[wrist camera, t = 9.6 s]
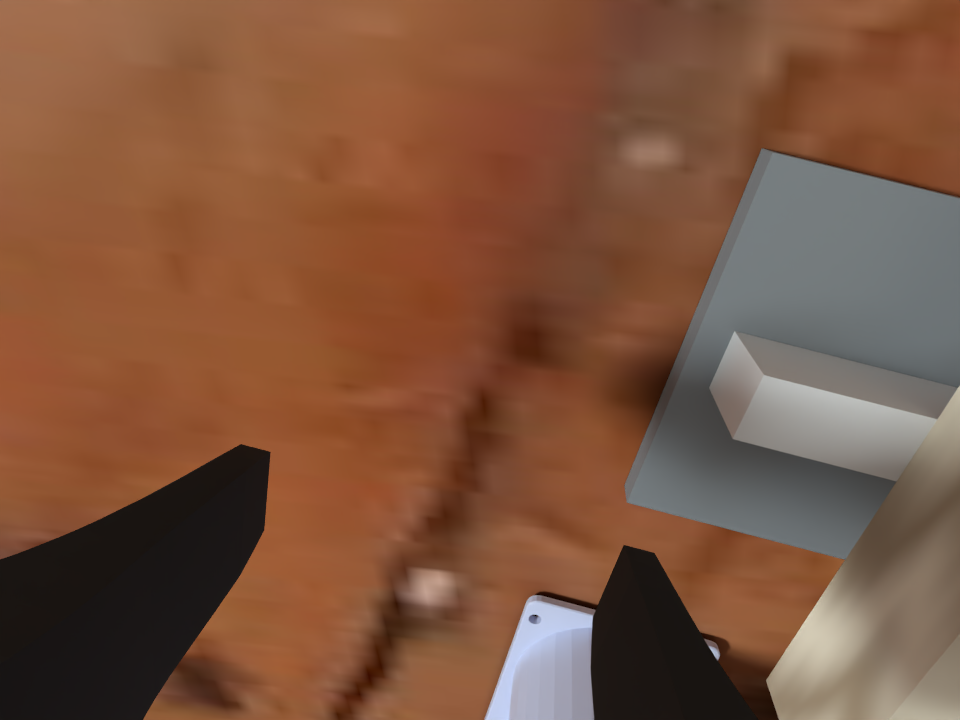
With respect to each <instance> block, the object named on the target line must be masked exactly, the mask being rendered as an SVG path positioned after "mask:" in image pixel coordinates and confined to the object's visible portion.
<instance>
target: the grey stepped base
mask: <svg viewBox="0 0 960 720" xmlns="http://www.w3.org/2000/svg"><path fill="white" fill-rule="evenodd" d="M959 386H960V197H957V196H953V195H949V194H945V193H941V192H936V191H932V190H928V189H924V188H920V187H916V186H912V185H908V184H904V183H900V182H896V181H892V180H888V179H884V178H880V177H876V176H872V175H868V174H864V173H860V172H856V171H852V170H848V169H844V168H840V167H835V166H831V165H827V164H823V163H819V162H815V161H811V160H807V159H803V158H799V157H795V156H791V155H787V154H783V153H779V152H775V151H771V150H767V149H763V148H762V149H761V152H760V154H759V157H758V159H757V162H756V164H755V167H754V169H753V172H752V174H751V176H750V179H749V181H748V184H747V186H746V189H745V191H744V194H743V196H742V198H741V201H740V203H739V206H738V208H737V211H736V213H735V216H734V218H733V221H732V223H731V225H730V228H729V230H728V233H727V235H726V238H725V240H724V243H723V245H722V247H721V250H720V252H719V255H718V257H717V260H716V262H715V265H714V267H713V270H712V272H711V274H710V277H709V279H708V282H707V284H706V287H705V289H704V292H703V294H702V296H701V299H700V301H699V304H698V306H697V309H696V311H695V314H694V316H693V319H692V321H691V323H690V326H689V328H688V331H687V333H686V336H685V338H684V341H683V343H682V346H681V348H680V350H679V353H678V355H677V358H676V360H675V363H674V365H673V368H672V370H671V372H670V375H669V377H668V380H667V382H666V385H665V387H664V390H663V392H662V395H661V397H660V399H659V402H658V404H657V407H656V409H655V412H654V414H653V417H652V419H651V421H650V424H649V426H648V429H647V431H646V434H645V436H644V439H643V441H642V444H641V446H640V448H639V451H638V453H637V456H636V458H635V461H634V463H633V466H632V468H631V470H630V473H629V475H628V478H627V480H626V483H625V485H624V486H625V493H626V500H627V503H631V504H634V505H638V506H642V507H646V508H650V509H653V510H657V511H661V512H665V513H669V514H673V515H676V516H680V517H684V518H688V519H692V520H695V521H699V522H703V523H707V524H711V525H715V526H718V527H722V528H726V529H730V530H734V531H738V532H741V533H745V534H749V535H753V536H757V537H760V538H764V539H768V540H772V541H776V542H780V543H783V544H787V545H791V546H795V547H799V548H802V549H806V550H810V551H814V552H818V553H822V554H825V555H829V556H833V557H837V558H841V559H844V560H845V559H846V558H847V556H848V555H849V553H850V552H851V550H852V549H853V547H854V546H855V544H856V543H857V541H858V540H859V538H860V537H861V535H862V534H863V532H864V531H865V529H866V527H867V526H868V524H869V523H870V521H871V520H872V518H873V517H874V515H875V514H876V512H877V511H878V509H879V508H880V506H881V505H882V503H883V502H884V500H885V499H886V497H887V495H888V494H889V492H890V491H891V489H892V488H893V486H894V485H895V483H896V482H897V480H898V479H899V477H900V476H901V474H902V473H903V471H904V470H905V468H906V467H907V465H908V463H909V462H910V460H911V459H912V457H913V456H914V454H915V453H916V451H917V450H918V448H919V447H920V445H921V444H922V442H923V441H924V439H925V438H926V436H927V435H928V433H929V431H930V430H931V428H932V427H933V425H934V424H935V422H936V421H937V419H938V418H939V416H940V415H941V413H942V412H943V410H944V409H945V407H946V406H947V404H948V403H949V401H950V399H951V398H952V396H953V395H954V393H955V392H956V390H957V389H958V387H959Z"/></svg>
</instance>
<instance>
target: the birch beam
mask: <svg viewBox="0 0 960 720" xmlns="http://www.w3.org/2000/svg"><path fill="white" fill-rule="evenodd" d="M766 682H767V685H768V688H769V691H770V694H771V697H772V700H773V703H774V706H775V709H776V712H777V715H778V718H779V720H960V386H959V387H958V389H957V390H956V392H955V393H954V395H953V396H952V398H951V399H950V401H949V403H948V404H947V406H946V407H945V409H944V410H943V412H942V413H941V415H940V416H939V418H938V419H937V421H936V422H935V424H934V425H933V427H932V428H931V430H930V431H929V433H928V435H927V436H926V438H925V439H924V441H923V442H922V444H921V445H920V447H919V448H918V450H917V451H916V453H915V454H914V456H913V457H912V459H911V460H910V462H909V463H908V465H907V467H906V468H905V470H904V471H903V473H902V474H901V476H900V477H899V479H898V480H897V482H896V483H895V485H894V486H893V488H892V489H891V491H890V492H889V494H888V495H887V497H886V499H885V500H884V502H883V503H882V505H881V506H880V508H879V509H878V511H877V512H876V514H875V515H874V517H873V518H872V520H871V521H870V523H869V524H868V526H867V527H866V529H865V531H864V532H863V534H862V535H861V537H860V538H859V540H858V541H857V543H856V544H855V546H854V547H853V549H852V550H851V552H850V553H849V555H848V556H847V558H846V559H845V561H844V563H843V564H842V566H841V567H840V569H839V570H838V572H837V573H836V575H835V576H834V578H833V579H832V581H831V582H830V584H829V585H828V587H827V588H826V590H825V591H824V593H823V595H822V596H821V598H820V599H819V601H818V602H817V604H816V605H815V607H814V608H813V610H812V611H811V613H810V614H809V616H808V617H807V619H806V620H805V622H804V623H803V625H802V626H801V628H800V630H799V631H798V633H797V634H796V636H795V637H794V639H793V640H792V642H791V643H790V645H789V646H788V648H787V649H786V651H785V652H784V654H783V655H782V657H781V658H780V660H779V662H778V663H777V665H776V666H775V668H774V669H773V671H772V672H771V674H770V675H769V677H768V678H767V680H766Z"/></svg>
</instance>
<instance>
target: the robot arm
mask: <svg viewBox="0 0 960 720" xmlns="http://www.w3.org/2000/svg"><path fill="white" fill-rule="evenodd" d="M269 463H270V452H268V451H265V450H261V449H257V448H253V447H249V446H246V445H242V444H241V445H239V446H237V447H235V448H233V449H231V450H230V451H228V452H226V453H224V454H222V455H221V456H219V457H217V458H215V459H213V460H212V461H210V462H208V463H206V464H205V465H203V466H201V467H199V468H197V469H196V470H194V471H192V472H190V473H189V474H187V475H185V476H183V477H181V478H180V479H178V480H176V481H174V482H172V483H170V484H169V485H167V486H165V487H163V488H161V489H159V490H157V491H156V492H154V493H152V494H150V495H148V496H146V497H144V498H142V499H140V500H138V501H136V502H134V503H132V504H130V505H128V506H126V507H124V508H122V509H120V510H118V511H116V512H114V513H112V514H110V515H108V516H106V517H104V518H102V519H100V520H97V521H95V522H93V523H91V524H89V525H87V526H84V527H82V528H80V529H78V530H75V531H73V532H71V533H68V534H66V535H64V536H61V537H59V538H56V539H54V540H51V541H49V542H46V543H44V544H41V545H39V546H36V547H34V548H31V549H29V550H26V551H23V552H21V553H18V554H15V555H12V556H9V557H7V558H4V559H1V560H0V720H143V718H144V717H145V715H146V713H147V711H148V710H149V708H150V706H151V705H152V703H153V701H154V699H155V698H156V696H157V695H158V693H159V692H160V690H161V689H162V687H163V686H164V684H165V682H166V681H167V679H168V678H169V676H170V675H171V673H172V672H173V671H174V669H175V668H176V666H177V665H178V663H179V662H180V661H181V659H182V658H183V656H184V655H185V653H186V652H187V651H188V649H189V648H190V646H191V645H192V644H193V642H194V641H195V639H196V638H197V636H198V635H199V634H200V632H201V631H202V629H203V628H204V626H205V625H206V624H207V622H208V621H209V619H210V618H211V617H212V615H213V614H214V612H215V611H216V609H217V608H218V607H219V605H220V604H221V602H222V601H223V599H224V598H225V596H226V595H227V594H228V592H229V591H230V589H231V588H232V586H233V585H234V583H235V582H236V580H237V579H238V577H239V576H240V574H241V573H242V571H243V569H244V567H245V565H246V563H247V562H248V560H249V558H250V556H251V554H252V552H253V550H254V549H255V547H256V545H257V543H258V541H259V539H260V537H261V535H262V533H263V531H264V526H265V513H266V500H267V488H268V475H269ZM532 615H538V616H532ZM719 657H720V652H719V649H718V645H717V644H716V643H715V642H713V641H710V640H707V639H704V638H703V636H702V635H701V633H700V632H699V630H698V628H697V627H696V625H695V623H694V622H693V620H692V618H691V616H690V615H689V613H688V611H687V610H686V608H685V606H684V604H683V603H682V601H681V599H680V597H679V596H678V594H677V592H676V590H675V589H674V587H673V585H672V583H671V582H670V580H669V578H668V576H667V574H666V573H665V571H664V569H663V567H662V566H661V564H660V562H659V560H658V559H657V557H656V555H655V553H652V552H648V551H645V550H641V549H637V548H633V547H629V546H626V545H624V546H623V548H622V550H621V553H620V555H619V557H618V560H617V562H616V564H615V567H614V569H613V571H612V574H611V576H610V578H609V581H608V583H607V585H606V588H605V590H604V592H603V595H602V597H601V599H600V601H599V604H598V606H597V608H596V610H594V609H590V608H587V607H583V606H579V605H575V604H571V603H568V602H564V601H560V600H556V599H553V598H549V597H545V596H541V595H534V596H531V597H530V598H528V600H527V601H526V604H525V607H524V610H523V613H522V615H521V618H520V621H519V624H518V627H517V629H516V632H515V635H514V638H513V641H512V644H511V646H510V649H509V652H508V655H507V658H506V660H505V663H504V666H503V669H502V672H501V674H500V677H499V680H498V683H497V686H496V688H495V691H494V694H493V697H492V700H491V703H490V705H489V708H488V711H487V714H486V717H485V719H484V720H758V719H757V717H756V716H755V714H754V713H753V712H752V710H751V709H750V708H749V706H748V705H747V703H746V702H745V701H744V699H743V698H742V696H741V695H740V693H739V692H738V690H737V689H736V687H735V686H734V684H733V683H732V682H731V680H730V679H729V677H728V676H727V674H726V673H725V671H724V670H723V668H722V667H721V665H720V664H719V662H718V659H719Z"/></svg>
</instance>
